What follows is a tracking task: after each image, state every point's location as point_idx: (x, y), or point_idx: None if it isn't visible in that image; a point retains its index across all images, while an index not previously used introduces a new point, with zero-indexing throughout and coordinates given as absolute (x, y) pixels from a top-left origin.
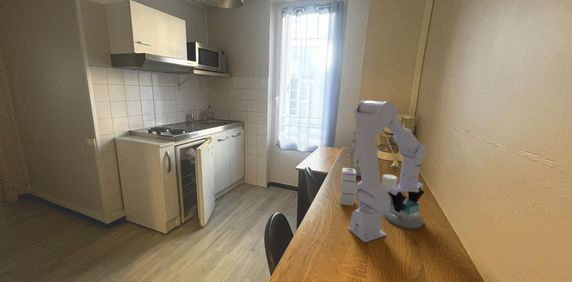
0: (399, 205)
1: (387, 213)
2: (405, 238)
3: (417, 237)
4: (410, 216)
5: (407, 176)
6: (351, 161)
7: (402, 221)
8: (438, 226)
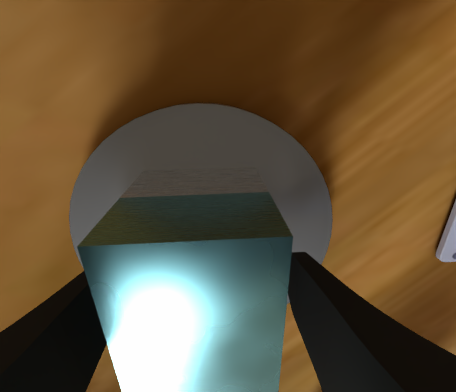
0: (365, 305)
1: None
2: (404, 50)
3: (316, 19)
4: (237, 183)
5: None
6: None
7: (284, 187)
8: (8, 58)
